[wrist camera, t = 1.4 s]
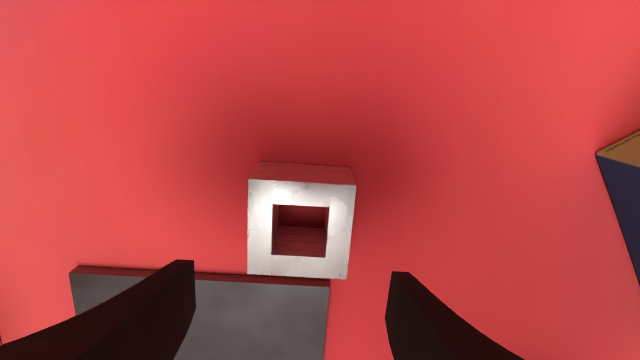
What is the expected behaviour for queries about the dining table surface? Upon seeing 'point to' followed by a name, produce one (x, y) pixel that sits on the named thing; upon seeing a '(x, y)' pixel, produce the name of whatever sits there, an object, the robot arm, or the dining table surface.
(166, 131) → the dining table surface
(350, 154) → the dining table surface
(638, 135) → the protein box
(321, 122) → the dining table surface
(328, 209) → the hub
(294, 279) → the shaft block
